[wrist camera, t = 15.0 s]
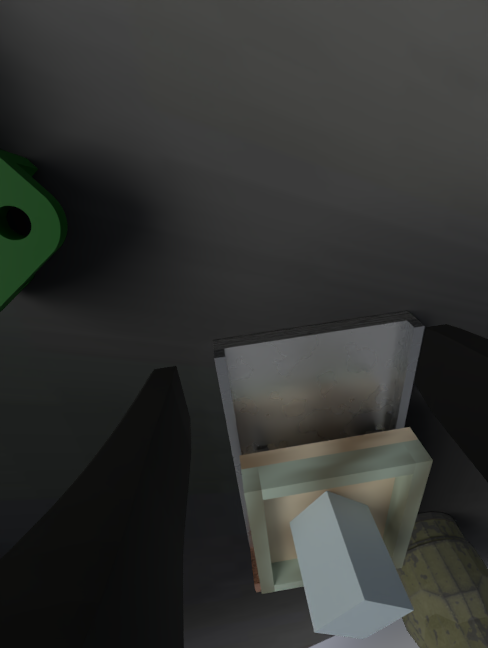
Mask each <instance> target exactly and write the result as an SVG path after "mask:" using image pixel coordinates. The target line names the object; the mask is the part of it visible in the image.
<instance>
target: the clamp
mask: <svg viewBox="0 0 488 648" xmlns="http://www.w3.org/2000/svg"><path fill="white" fill-rule="evenodd" d="M37 170H38V168H37V167H36V166H34V165H33V164H32V163H31V162H30V161H29V160H28V159H27V158H25V157H22V156H19V155H16V154H13V153H10V152H7V151H4V150H1V149H0V312H1V311H2V310H3V309H4V308H5V307H6V306H7V305H8V304H9V303H10V302H11V301H12V300H13V299H14V298H15V297H16V296H17V295H18V294H19V292H20V291H21V290H22V289H23V288H24V287H25V286H26V285H27V284H28V283H29V282H30V281H31V280H32V279H33V278H34V277H35V273H36V272H37V271H38V270H39V269H40V268H41V267H42V265H43V264H44V263H45V262H46V261H47V260H48V259H49V258H50V257H51V256H52V255H53V254H54V253H55V252H56V251H57V250H58V249H59V248H60V247H61V246H62V244H63V243H64V241H65V238H66V235H67V219H66V215H65V213H64V210H63V208H62V207H61V205H60V204H59V202H58V201H57V200H56V199H55V198H54V197H53V196H52V195H51V194H50V193H49V192H48V191H47V190H46V189H45V188H43V187H42V186H41V185H40V184H39V183H38V182H37V181H36V180H34V179H33V178H32V176H33V175H34V173H35V172H36V171H37ZM13 206H14V207H17V208H19V209H21V210H23V211H24V212H25V213H26V214H27V215H28V217H29V218H30V221H31V231H30V233H29V235H28V236H24V235H20V234H18V233H16V232H15V231H13V230H12V229H11V228H10V226H9V224H8V222H7V213H8V211H9V209H10V208H11V207H13Z"/></svg>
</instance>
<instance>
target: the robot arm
mask: <svg viewBox="0 0 488 648" xmlns="http://www.w3.org/2000/svg"><path fill="white" fill-rule="evenodd" d="M415 384H416V385H417V387H418V389H419V391H420V392H421V394H422V396H423V398H424V399H425V401H426V403H427V404H428V406H429V407H430V409H431V411H432V412H433V414H434V415H435V416H436V417H437V419H438V420H439V421H440V423H441V424H442V425H443V426H444V428H445V429H446V430H447V432H448V433H449V434H450V435H451V437H452V438H453V439H454V440H455V442H456V443H457V444H458V445H459V447H460V448H461V449H462V450H463V452H464V453H465V454H466V455H467V457H468V458H469V459H470V460H471V462H472V463H473V464H474V465H475V467H476V468H477V469H478V470H479V472H480V473H481V474H482V475H483V477H484V478H485V479H486V480H487V482H488V339H486V338H483V337H481V336H478V335H476V334H473V333H470V332H468V331H465V330H462V329H459V328H457V327H453V326H450V325H447V324H445V325H438V326H432V327H426V329H425V334H424V339H423V343H422V348H421V353H420V358H419V363H418V368H417V373H416V377H415ZM190 460H191V429H190V416H189V412H188V408H187V405H186V401H185V397H184V393H183V389H182V386H181V382H180V378H179V374H178V371H177V367H176V366H173V367H167V368H160V369H154V371H153V372H152V373H151V375H150V376H149V378H148V379H147V381H146V383H145V384H144V386H143V388H142V389H141V391H140V392H139V394H138V396H137V397H136V399H135V400H134V402H133V403H132V405H131V406H130V408H129V409H128V411H127V412H126V414H125V415H124V417H123V418H122V420H121V421H120V423H119V424H118V426H117V427H116V428H115V430H114V431H113V433H112V434H111V435H110V437H109V438H108V439H107V441H106V442H105V443H104V445H103V446H102V447H101V449H100V450H99V451H98V453H97V454H96V455H95V457H94V458H93V459H92V461H91V462H90V463H89V464H88V466H87V467H86V468H85V469H84V471H83V472H82V473H81V474H80V476H79V477H78V478H77V479H76V480H75V481H74V483H73V484H72V485H71V486H70V487H69V488H68V490H67V491H66V492H65V493H64V494H63V495H62V496H61V498H60V499H59V500H58V501H57V502H56V503H55V504H54V505H53V506H52V507H51V509H50V510H49V511H48V512H47V513H46V514H45V515H44V516H43V517H42V518H41V519H40V520H39V521H38V522H37V523H36V524H35V525H34V526H33V527H32V528H31V529H30V530H29V531H28V532H27V533H26V534H25V535H24V536H23V537H22V538H21V539H20V540H19V541H18V542H17V543H16V544H15V545H14V546H13V548H12V549H11V550H10V551H9V552H8V553H7V554H5V555H4V556H3V557H2V558H1V559H0V648H184V639H183V545H184V529H185V518H186V506H187V495H188V484H189V472H190Z"/></svg>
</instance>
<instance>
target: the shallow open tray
mask: <svg viewBox="0 0 488 648" xmlns="http://www.w3.org/2000/svg"><path fill="white" fill-rule="evenodd" d="M239 456H240V464H241V472H242V481H243V489H244V496H245V501H246V507H247V513H248V518H249V524H250V530H251V535H252V541H253V546H254V552H255V558H256V563H257V569H258V575H259V580H260V586H261V592H262V594H264V593H270V592H275V591H280V590H286V589H291V588H297V587H302V586H304V585H303V580H302V576H301V571H300V567H299V563H298V558H297V554H296V549H295V545H294V541H293V536H292V532H291V527H290V523H289V522H291V521H292V520H293V519H294V518H295V517H296V516H298V515H299V514H300V513H301V512H302V511H303V510H305V509H306V508H307V507H308V506H309V505H310V504H312V503H313V502H314V501H315V500H316V499H317V498H318V497H320V496H321V495H322V494H323V493H324V492H325V491H329V492H332V493H335V494H337V495H340V496H343V497H346V498H349V499H351V500H354V501H357V502H360V503H363V504H365V505H368V507H369V509H370V512H371V514H372V516H373V519H374V521H375V523H376V525H377V528H378V530H379V532H380V534H381V537H382V539H383V541H384V543H385V546H386V548H387V550H388V552H389V555H390V557H391V559H392V561H393V564H394V566H395V568H396V569H398V568H402V566H403V562H404V559H405V555H406V552H407V548H408V545H409V541H410V538H411V534H412V531H413V528H414V524H415V521H416V517H417V514H418V510H419V507H420V503H421V500H422V496H423V493H424V489H425V486H426V483H427V479H428V476H429V472H430V469H431V465H432V462H433V460H432V458H431V457H430V455H429V454H428V453H427V451H426V450H425V448H424V447H423V445H422V444H421V443H420V441H419V440H418V438H417V437H416V435H415V434H414V433H413V431H412V430H411V428H410V427H406V428H400V429H395V430H389V431H382V430H380V429H379V430H373V431H367V432H364V435H359V436H353V437H347V438H341V439H335V440H329V441H323V442H317V443H311V444H305V445H299V446H293V447H287V448H281V449H275V450H269V448H265V449H259V450H254V453H251V454H245V455H239Z"/></svg>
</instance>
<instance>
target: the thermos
mask: <svg viewBox="0 0 488 648" xmlns="http://www.w3.org/2000/svg"><path fill="white" fill-rule="evenodd" d="M396 570H397V573H398V575H399V577H400V579H401V582H402V584H403V586H404V588H405V591H406V593H407V595H408V597H409V600H410V602H411V604H412V606H413V609H414V611H412V612H410V613H408V614H407V615H405V616H403V617H402V619H403V622H404V624H405V627H406V629H407V631H408V632H409V634H410V635H411V636H412V638H413V639H414V640H415V642H416V643H417V645H418V646H419V647H420V648H488V569H487V567H486V565H485V564H484V562H483V561H482V559H481V558H480V556H479V555H478V553H477V552H476V550H475V549H474V547H473V546H472V545H471V544H470V543H469V542H467V541H466V539H465V538H464V536H463V535H462V533H461V531H460V530H459V528H458V525H457V524H456V522H455V521H454V520H453V518H452V517H451V516H450V515H447V514H444V513H441V512H426V513H420V514H417V517H416V521H415V524H414V528H413V531H412V534H411V538H410V541H409V545H408V548H407V552H406V555H405V559H404V562H403V566H402V568H398V569H396Z"/></svg>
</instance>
